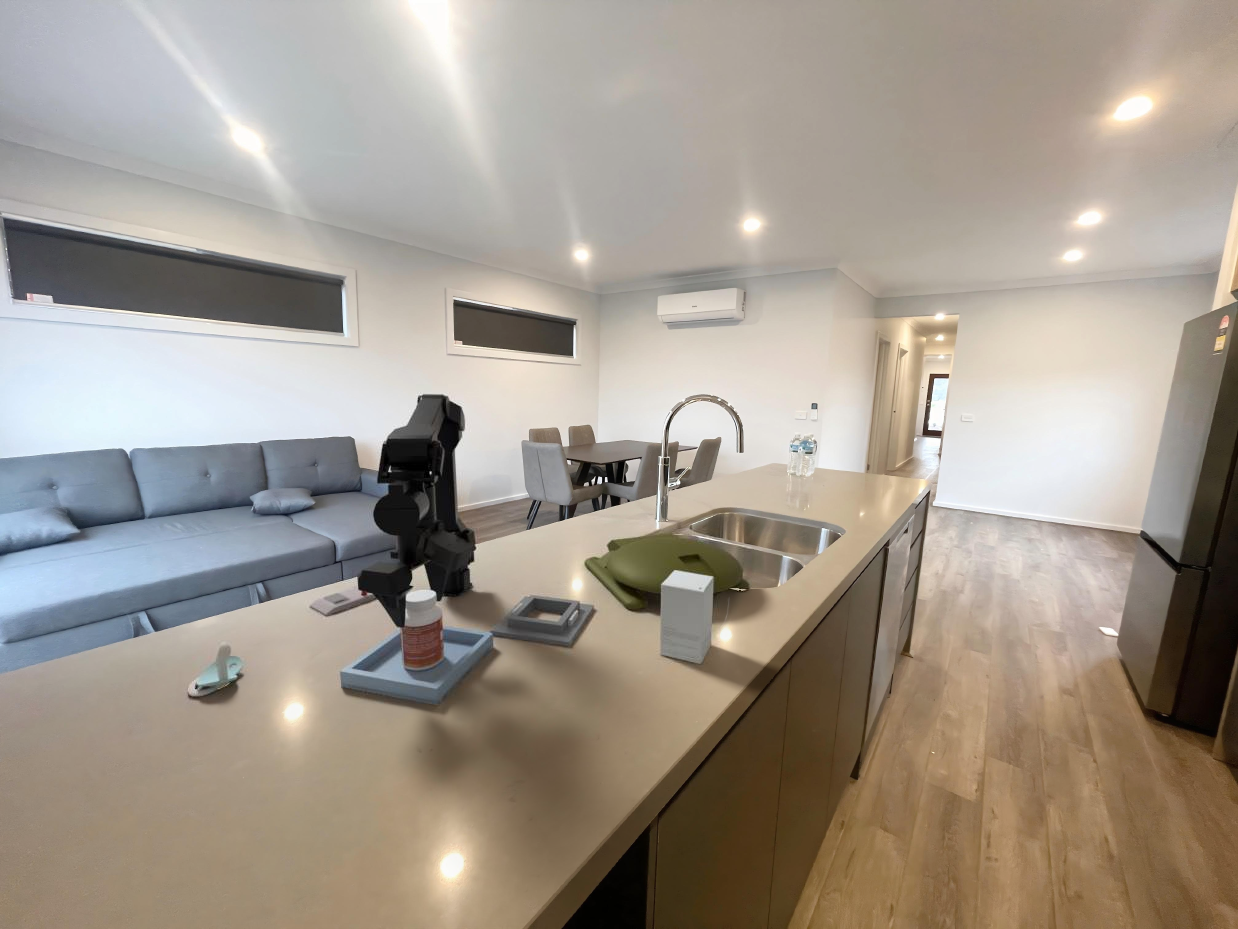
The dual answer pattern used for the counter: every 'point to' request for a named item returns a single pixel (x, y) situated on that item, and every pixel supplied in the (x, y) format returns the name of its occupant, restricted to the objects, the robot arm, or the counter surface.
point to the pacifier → (217, 672)
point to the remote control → (341, 601)
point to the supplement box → (686, 616)
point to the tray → (431, 686)
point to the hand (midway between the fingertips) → (420, 613)
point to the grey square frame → (544, 621)
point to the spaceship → (661, 566)
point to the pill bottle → (422, 631)
